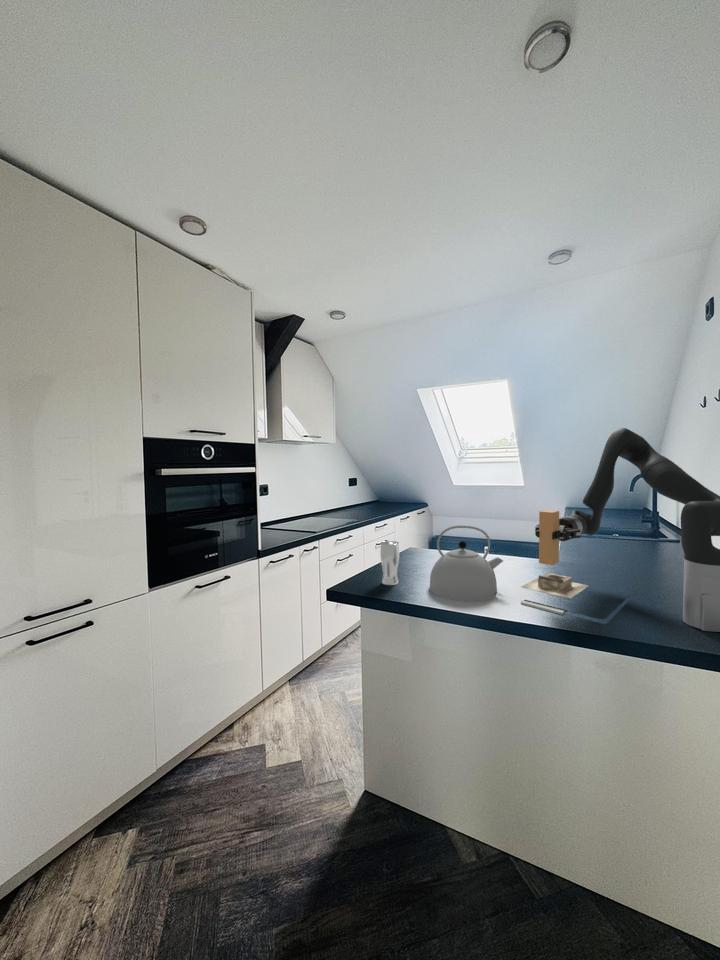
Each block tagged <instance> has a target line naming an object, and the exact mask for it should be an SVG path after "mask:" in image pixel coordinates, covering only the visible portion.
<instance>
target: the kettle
mask: <svg viewBox="0 0 720 960" xmlns="http://www.w3.org/2000/svg"><path fill="white" fill-rule="evenodd" d="M453 529H454V530H455V529H471V530H475V531H479V532H481V533H482V534H483V535H485V538H486V539H487V549H486V551H485V553H484V555H483V556H482V555H481V554H479V553H477V552H476V551H474V550H471V549H466V547H467V542H466V541H464V540H461V541H459V543H458V547H459V548H458V549H453V550H449V551H447V552H446V553H443V552H442V550H441V548H440V547H441V546H440V541H441V538H442V536H443V535H444V534H445V533H447V532H448V531H450V530H453ZM436 547H437V551H438V553H439V554H440V556H441V557H439V558H438V559H437V560H436V561H435V563H434V564H433V567H432V569H431V572H430V576H429V578H430V579H429V590H430V592H432V594H434V595H436V596H439V597H441V598H444V599H448V600H454V601H459V602H460V601H463V602H479V601H480V602H481V601H486V600H490V599H492V598H494V597H496V596H497V594H498V592H497V591H498V590H497V589H498V586H497V577H496V574H495V571H494V569H496V567H498V566H500V564H502V563H503V562H504V560H503V559H501V558H500V557H497V556H496V557H494V558H492V559H490V560H487V556H488V555H489V552H490V549H491V539H490V536H489V535H488V533H487V532H485V530H483V529H482V528H480V527H476V526H471V525H453V526H449V527H448V528H445V529H444V530H442V532H441V533H440V534H439V535H438V537H437V542H436Z"/></svg>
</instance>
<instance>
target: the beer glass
mask: <svg viewBox="0 0 720 960" xmlns="http://www.w3.org/2000/svg"><path fill="white" fill-rule="evenodd" d="M379 554H380V564H381V567H382V579H381V584H382V585H385V586H396V585H398V584H399V578H398V568H399V563H400V545H399V542H398V541H394V540H385V541H381V542H380V551H379Z"/></svg>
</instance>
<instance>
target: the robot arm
mask: <svg viewBox="0 0 720 960" xmlns="http://www.w3.org/2000/svg"><path fill="white" fill-rule="evenodd" d="M619 457H620V458H622V460H623V459H624V460H626V461H628V462H629V463H631V464H632V465H634V466H635V467H636V468H638V469H639V471H640V475H641V478H642V479H643V480H644V482H645V483H646V484H647V485H648V486H649V487H650V488H652V490H654V491H655V492H656V493H658V494H659V495H661V496H663V497H666V498H668V499H670V500H673V501H676V502H678V503H681V504H683V505H684V506H683V507H682V509H681V513H680V534H681V535H680V536H681V540H680V541H681V547H682V551H683V555H684V558H683V586H682V587H683V588H682V589H683V590H682V591H683V595H682V621H683V622H684V623H685V624H686V625H687V626H691V627H693V628H697V629H699V630H701V631H703V632H715V633H717V632H718V633H720V548H718V547H716V546H714V545H713V539H712V537H720V495H719V494H717V493H716V492H713V491H712V490H710V489H709V488H708V487H706V486H704V485H703V484H702V483H701V482H699V481H698V480H696V479H695V478H694V477H692V476H691V474H690V475H689V474H688V473H687V472H686V471H685V470H683V468H681V467H680V466H679V465H678V464H676V463H675V462H674V461H672V460H671V459H668V458H667V457H666V456H664V455H662V454H660V453H658V452H657V451H656V450H655V449H654V448H653V446H652V445H651V444H650V443H649V442H648V441H647V440H646V439H645V438H644V437H643V436H641V435H639V434H637V433H636V432H634V431H633V430H631V429H628V428H626V427H621V428H618V429H617V428H616V429H615V430H614V431H612V433H611V434H610V435H609V437H608V439H607V440H606V443H605V446H604V448H603V451H602V454H601V457H600V460H599V463H598V467H597V469H596V472H595V475H594V477H593V480H592V482H591V484H590V486H589V488H588V490H587V491H586V493H585V495H584V497H583V499H582V504H583V505H584V506H586V507H587V508H588V509H590V510H591V511H592V515H591V514H590V513H586V512H585V511H582V510H578V509H573V510H572V511H571V512H570V513H569V514H568V516H562V517H559V531H555V532H552V539H553V540H556V539H558V538H559V542H567V541H570V540H573V539H579V538H581V536H582V534H584V535H587V536H594V535H596V534H597V533H598V532H599V530H600V528H601V523H602V517H603V512H604V509H605V506H606V504H607V503H608V501H609V500H610V497H611V495H613V494H612V493H613V491H614V487H615V466H616V463H617V460H618V458H619ZM534 530H535V532H534V534H535V537H536V538H538V539H539V524H536V525H535V529H534Z"/></svg>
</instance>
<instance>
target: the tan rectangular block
mask: <svg viewBox="0 0 720 960" xmlns="http://www.w3.org/2000/svg"><path fill="white" fill-rule="evenodd" d="M538 513H539V514H538V515H539V517H538V518H539V519H538V522H539V523H538V525H539V538H538V563H539V564H542V565H548V566H554V565H556V564H558V563H560V541H559V538H558V539H556V540H553V539H552V532H555V531H559V518H560V510H551V509H549V510H548V509H545V510H539V512H538Z"/></svg>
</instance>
